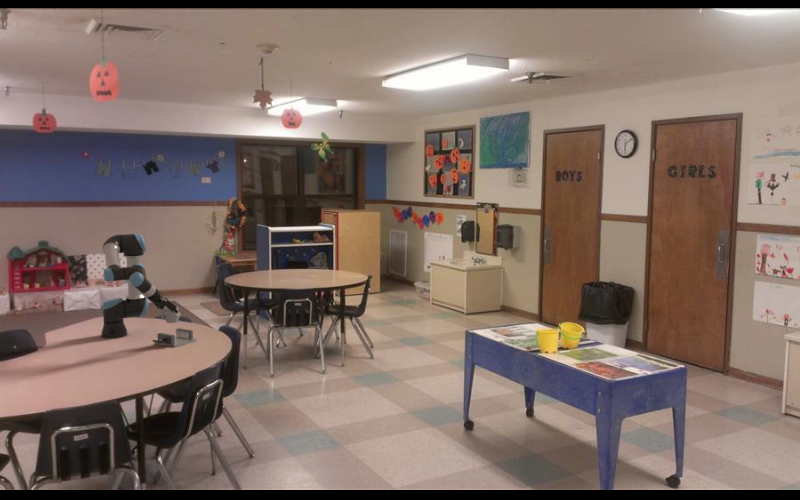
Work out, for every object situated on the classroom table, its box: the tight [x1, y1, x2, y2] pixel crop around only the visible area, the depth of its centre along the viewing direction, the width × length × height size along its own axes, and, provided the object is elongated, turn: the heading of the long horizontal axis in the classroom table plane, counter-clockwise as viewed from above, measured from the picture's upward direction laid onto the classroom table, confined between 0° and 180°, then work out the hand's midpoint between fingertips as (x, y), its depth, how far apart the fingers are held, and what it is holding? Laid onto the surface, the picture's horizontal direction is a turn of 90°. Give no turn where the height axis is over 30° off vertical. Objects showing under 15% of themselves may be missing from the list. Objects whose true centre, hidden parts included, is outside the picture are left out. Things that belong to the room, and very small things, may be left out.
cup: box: [160, 305, 180, 324], centre depth 383 cm, size 7×10×9 cm
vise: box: [152, 328, 198, 348], centre depth 383 cm, size 18×22×6 cm
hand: (175, 314), depth 385 cm, fingers closed on cup, 8 cm apart
